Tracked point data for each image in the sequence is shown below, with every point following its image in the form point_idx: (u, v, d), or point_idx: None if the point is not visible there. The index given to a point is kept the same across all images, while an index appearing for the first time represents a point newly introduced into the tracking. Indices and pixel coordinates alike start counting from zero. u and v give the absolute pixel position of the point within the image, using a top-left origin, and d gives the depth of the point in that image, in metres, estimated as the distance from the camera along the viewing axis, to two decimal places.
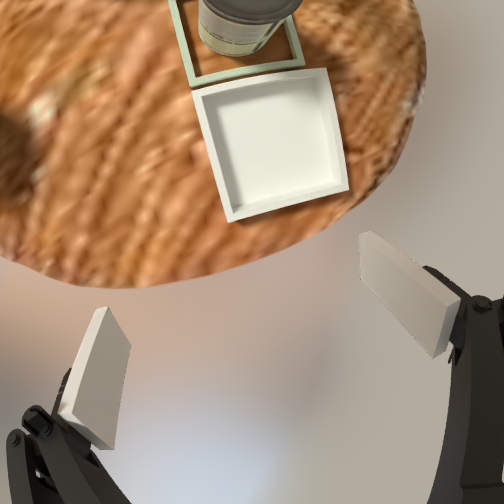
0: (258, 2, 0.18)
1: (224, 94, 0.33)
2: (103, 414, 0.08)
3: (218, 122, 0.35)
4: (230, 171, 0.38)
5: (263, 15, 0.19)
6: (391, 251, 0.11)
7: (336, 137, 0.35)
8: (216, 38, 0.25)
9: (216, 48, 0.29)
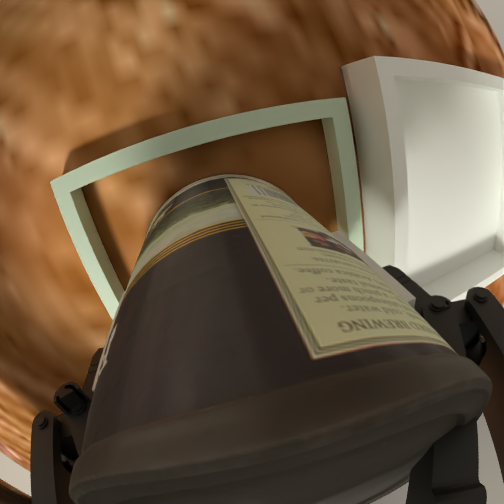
0: (400, 470, 0.05)
1: None
2: None
3: (419, 273, 0.20)
4: (469, 251, 0.20)
5: None
6: (353, 251, 0.12)
7: (484, 81, 0.11)
8: None
9: None
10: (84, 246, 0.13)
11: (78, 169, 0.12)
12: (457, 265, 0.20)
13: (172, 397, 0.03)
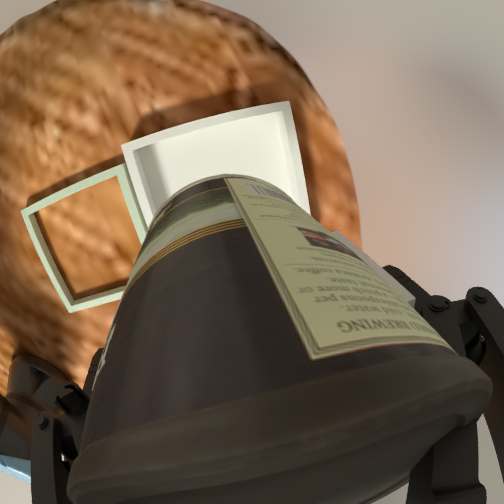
0: (400, 471, 0.05)
1: None
2: None
3: None
4: None
5: None
6: (353, 251, 0.12)
7: (217, 121, 0.26)
8: None
9: None
10: (34, 237, 0.28)
11: (30, 206, 0.27)
12: None
13: (169, 398, 0.03)
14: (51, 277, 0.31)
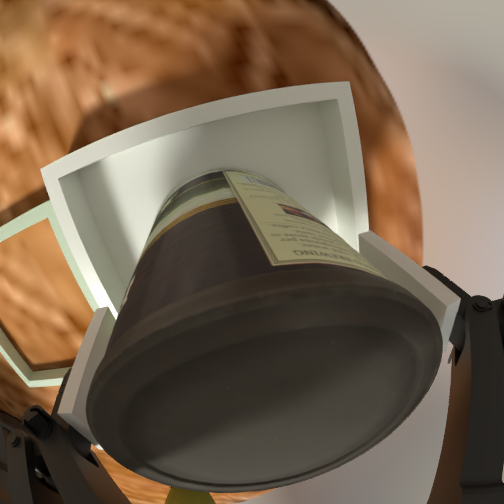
0: (370, 407, 0.07)
1: None
2: None
3: None
4: None
5: (416, 384, 0.07)
6: (391, 251, 0.11)
7: (212, 115, 0.13)
8: None
9: None
10: None
11: None
12: None
13: (180, 292, 0.05)
14: None
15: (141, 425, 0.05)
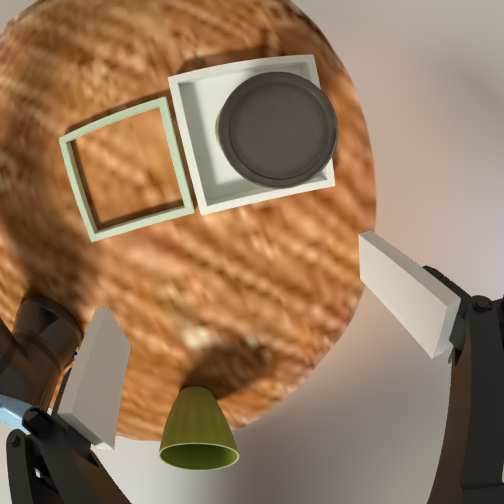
0: (311, 125, 0.22)
1: (203, 177, 0.36)
2: (103, 414, 0.08)
3: (233, 183, 0.37)
4: None
5: (328, 123, 0.22)
6: (391, 251, 0.11)
7: (253, 64, 0.28)
8: None
9: None
10: (68, 163, 0.31)
11: (69, 133, 0.29)
12: None
13: None
14: (79, 203, 0.33)
15: (239, 110, 0.21)
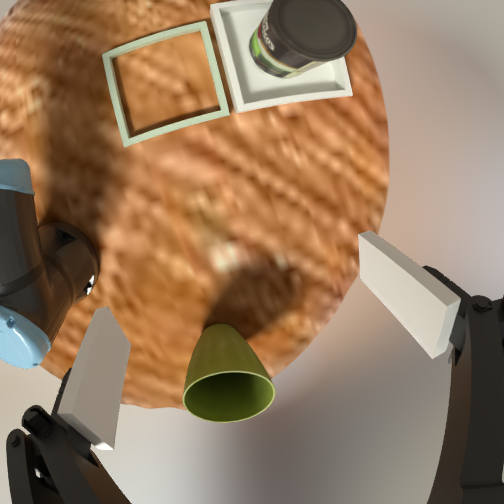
0: (337, 21, 0.22)
1: None
2: (103, 414, 0.08)
3: (264, 92, 0.37)
4: (307, 86, 0.37)
5: (349, 21, 0.22)
6: (391, 251, 0.11)
7: None
8: None
9: None
10: (109, 74, 0.31)
11: (113, 49, 0.29)
12: (298, 93, 0.38)
13: None
14: (116, 110, 0.33)
15: (284, 5, 0.21)
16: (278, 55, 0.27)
